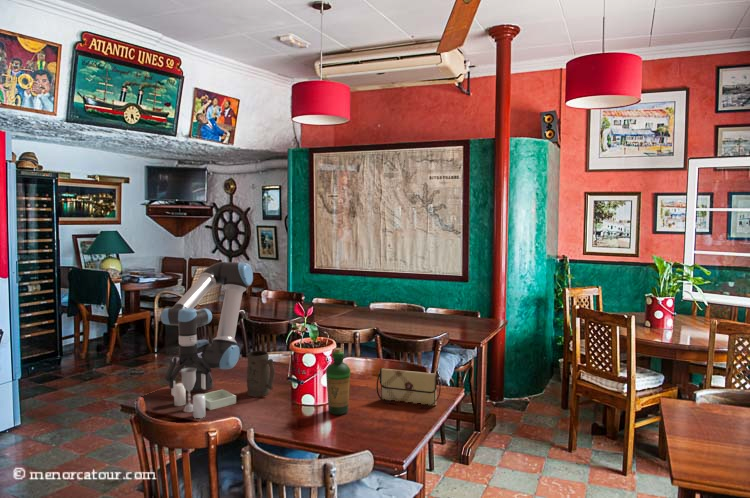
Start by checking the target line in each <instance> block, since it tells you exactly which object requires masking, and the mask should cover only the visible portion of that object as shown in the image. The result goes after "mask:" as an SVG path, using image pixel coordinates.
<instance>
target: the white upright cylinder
mask: <svg viewBox="0 0 750 498" xmlns="http://www.w3.org/2000/svg"><path fill="white" fill-rule="evenodd" d="M175 385H176V396H173V402H174V403H173V405H174V406H175V407H182V406H186V405H187V394H186V393H187V392H186V390H185V388H184V386H183V384H182V382H178V383H175Z"/></svg>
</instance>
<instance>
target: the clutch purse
mask: <svg viewBox="0 0 750 498" xmlns="http://www.w3.org/2000/svg"><path fill="white" fill-rule="evenodd" d="M377 375H378V376H377V379H376V394H377V396H378V398H379V399H380V400H381V401H383V402H385V403H387V404H390V403H392V402H391V400H395V401H394V402H400V401H405V402H404V403H408V402H413V403H412V404H417V403H421V404H420V405H425V404H428V405H427V406H423V407H424V408H423V409H429V408H430V407H432V406H434V405H436V406H437V401H438V400H439V397H440V394H441V385H442V384H441V381H440V378H439V377H438V376H439V375H438V373H433V372H432V373H431V372H424V371H423V372H422V371H411V370H401V369H391V368H381V367H380V369H379V371H378V374H377ZM437 382H438V383H437ZM379 384H380V391H379ZM437 384H438V386H439V389H437V388H438V386H437ZM437 390H438V396H437ZM384 399H385V400H384Z"/></svg>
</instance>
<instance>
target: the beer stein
mask: <svg viewBox="0 0 750 498" xmlns="http://www.w3.org/2000/svg"><path fill="white" fill-rule="evenodd" d="M246 358H247V367H246V387H247V392H246V394H247V395H248V396H250V397H253V398H254V397H257V398H259V397H260V398H261V397H264V396H265V397H266V396H267V395H269V394H270V392H271V391H272V390H273V389H274V387H273V382H274V379H275V366H274V362H273V361H274V360H273V359H272V358H269V352H267V351H264V350H253V351H250V352H248V353H247V357H246Z"/></svg>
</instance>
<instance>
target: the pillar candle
mask: <svg viewBox="0 0 750 498" xmlns="http://www.w3.org/2000/svg"><path fill="white" fill-rule="evenodd" d="M192 404H193V411H192V412H193V413H192V415H193V417H194V419H196V418H200V419H204V418H205V417H206V415H207V413H206V409H207V408H206V407H205V393H196V394H194V395H192ZM203 417H204V418H203Z"/></svg>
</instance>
